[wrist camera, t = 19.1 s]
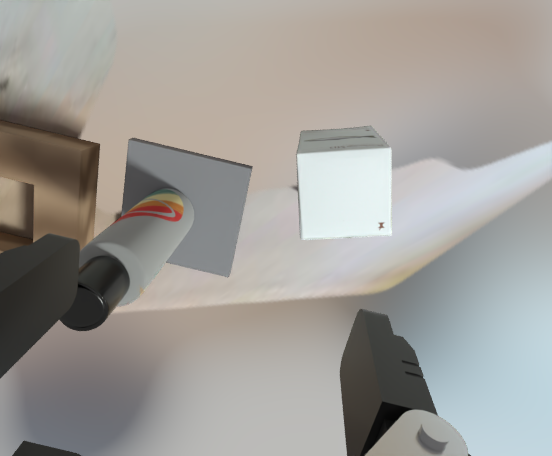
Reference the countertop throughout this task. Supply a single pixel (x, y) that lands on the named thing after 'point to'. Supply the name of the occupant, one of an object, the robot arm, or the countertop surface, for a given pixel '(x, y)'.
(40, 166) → the block
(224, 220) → the rubber mat
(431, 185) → the countertop surface
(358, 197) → the supplement box
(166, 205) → the lotion bottle
